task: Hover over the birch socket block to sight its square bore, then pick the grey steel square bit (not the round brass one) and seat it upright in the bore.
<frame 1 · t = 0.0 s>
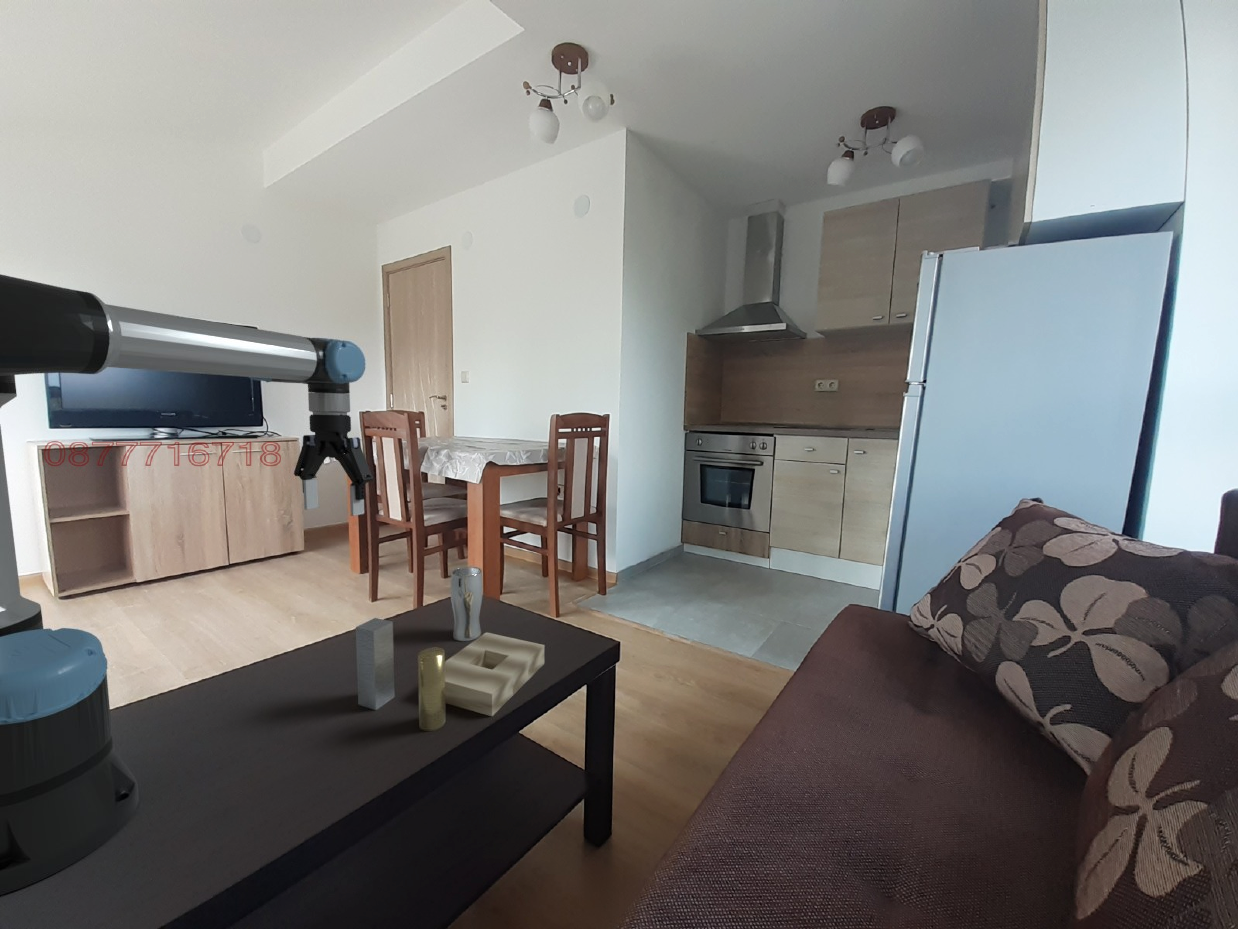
hand: (334, 511, 102), 28 cm above the table, fingers open, 13 cm apart
socket block: (488, 679, 90), on the table
round bit: (432, 722, 77), on the table
square bit: (376, 700, 82), on the table
beer glass: (467, 635, 107), on the table
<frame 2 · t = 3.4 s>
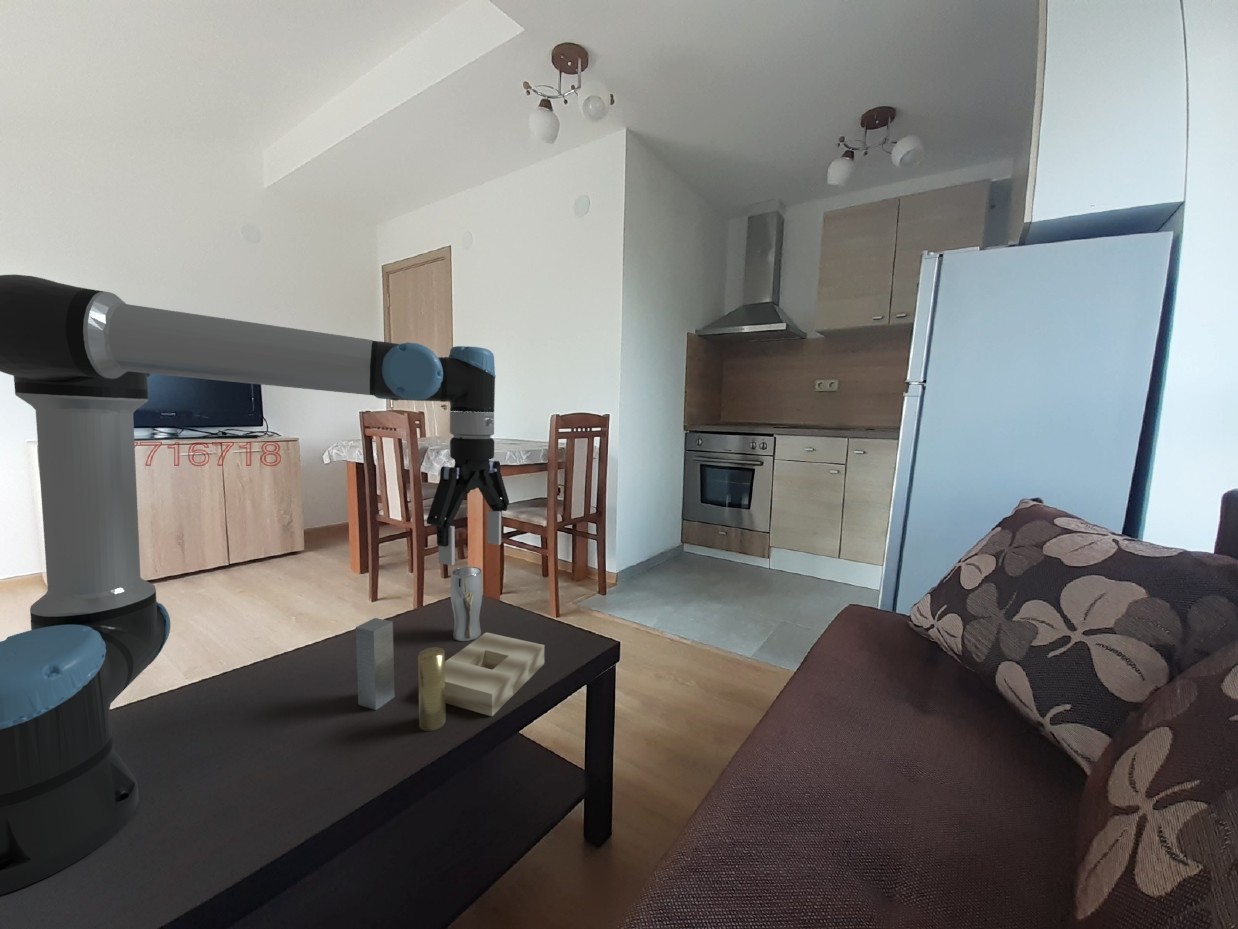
hand: (472, 553, 86), 25 cm above the table, fingers open, 13 cm apart
nothing on the table moved.
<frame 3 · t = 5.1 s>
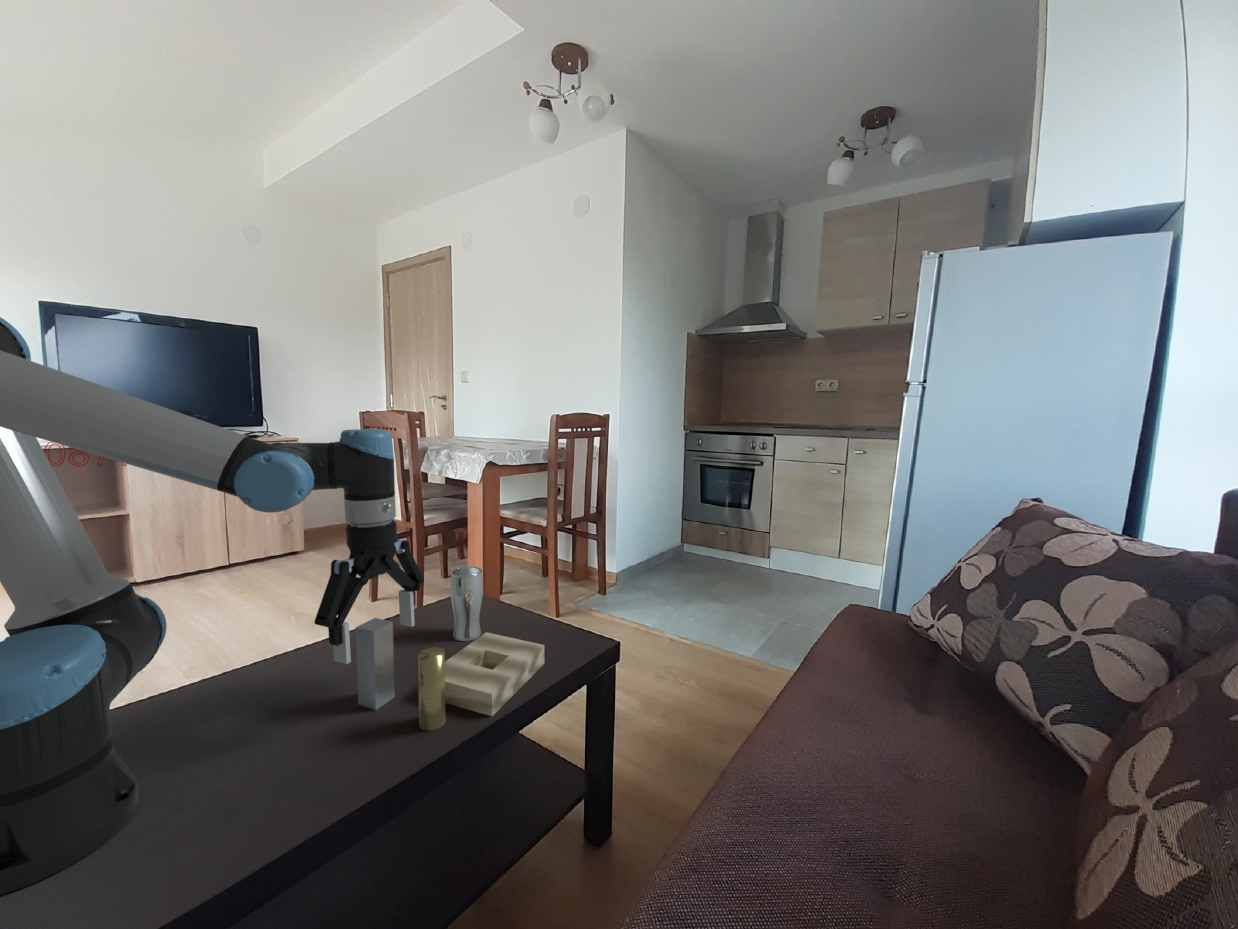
hand: (377, 642, 81), 11 cm above the table, fingers open, 13 cm apart
nothing on the table moved.
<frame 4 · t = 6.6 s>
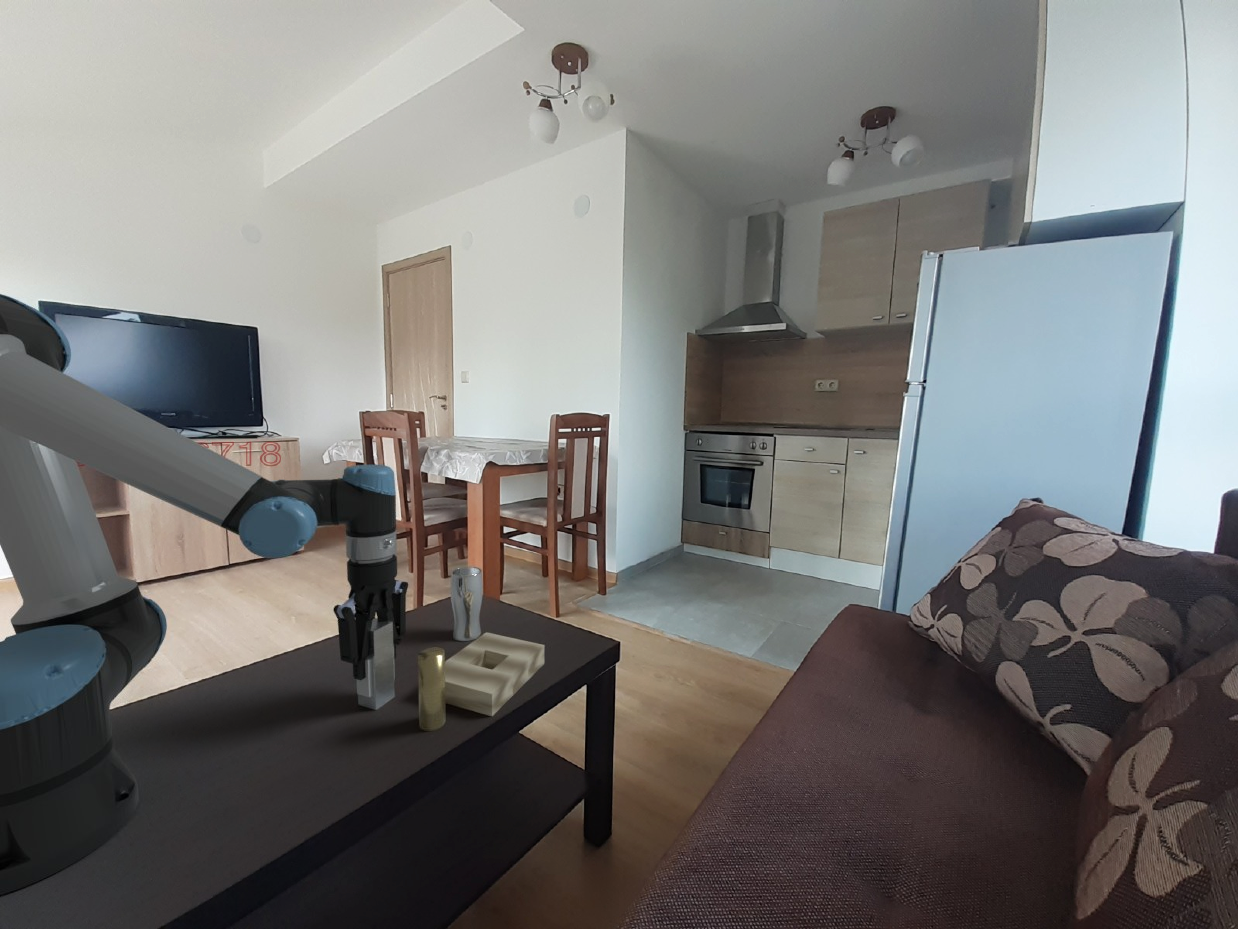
hand: (376, 686, 82), 3 cm above the table, fingers closed on square bit, 4 cm apart
square bit: (376, 700, 82), on the table, touching gripper
everything else where it was.
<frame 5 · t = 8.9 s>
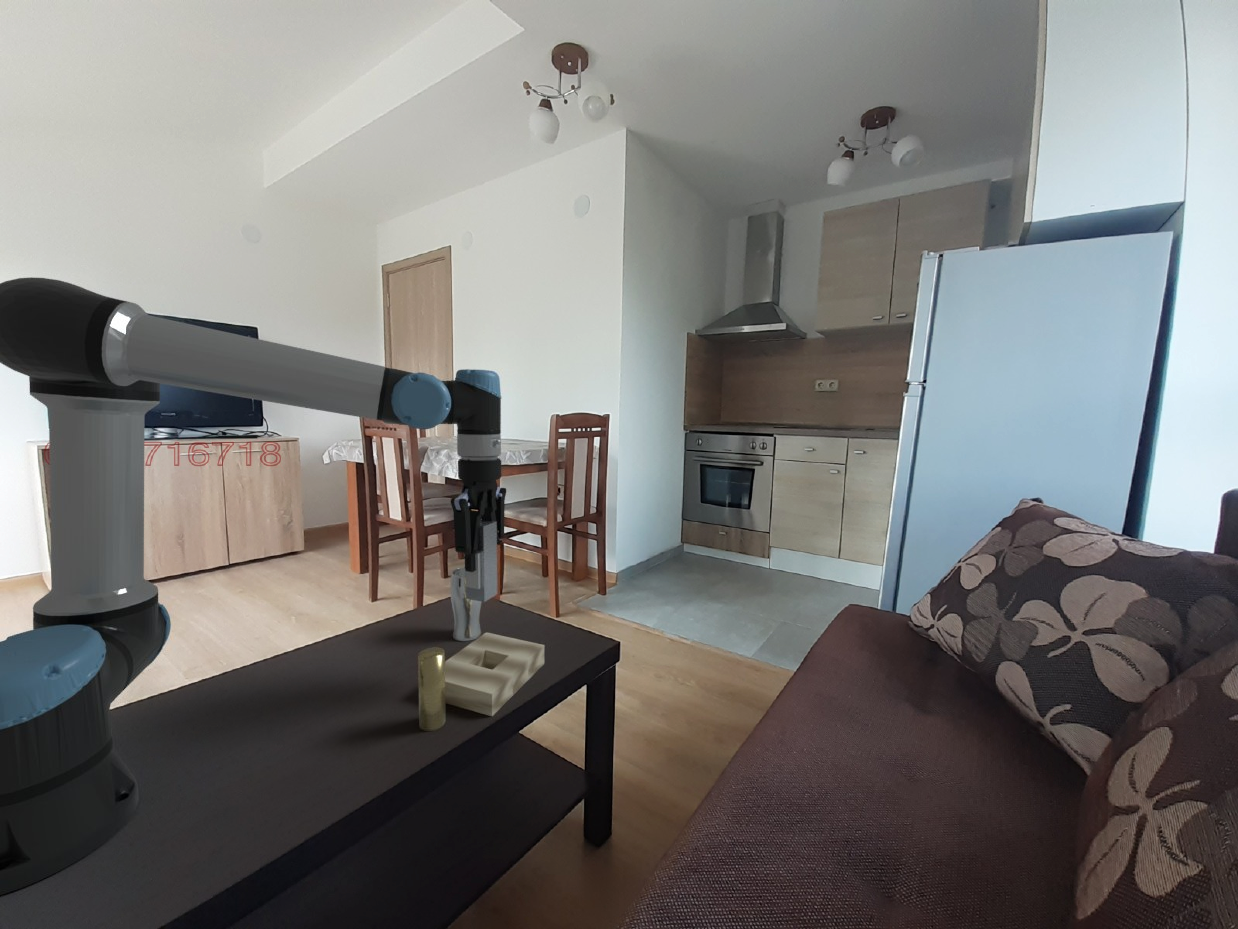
hand: (481, 582, 87), 19 cm above the table, fingers closed on square bit, 4 cm apart
square bit: (482, 596, 87), point 17 cm above the table, touching gripper
everything else where it was.
when the fingers open (5 cm above the table, at t = 11.3 s): square bit drops 3 cm, resting in socket block.
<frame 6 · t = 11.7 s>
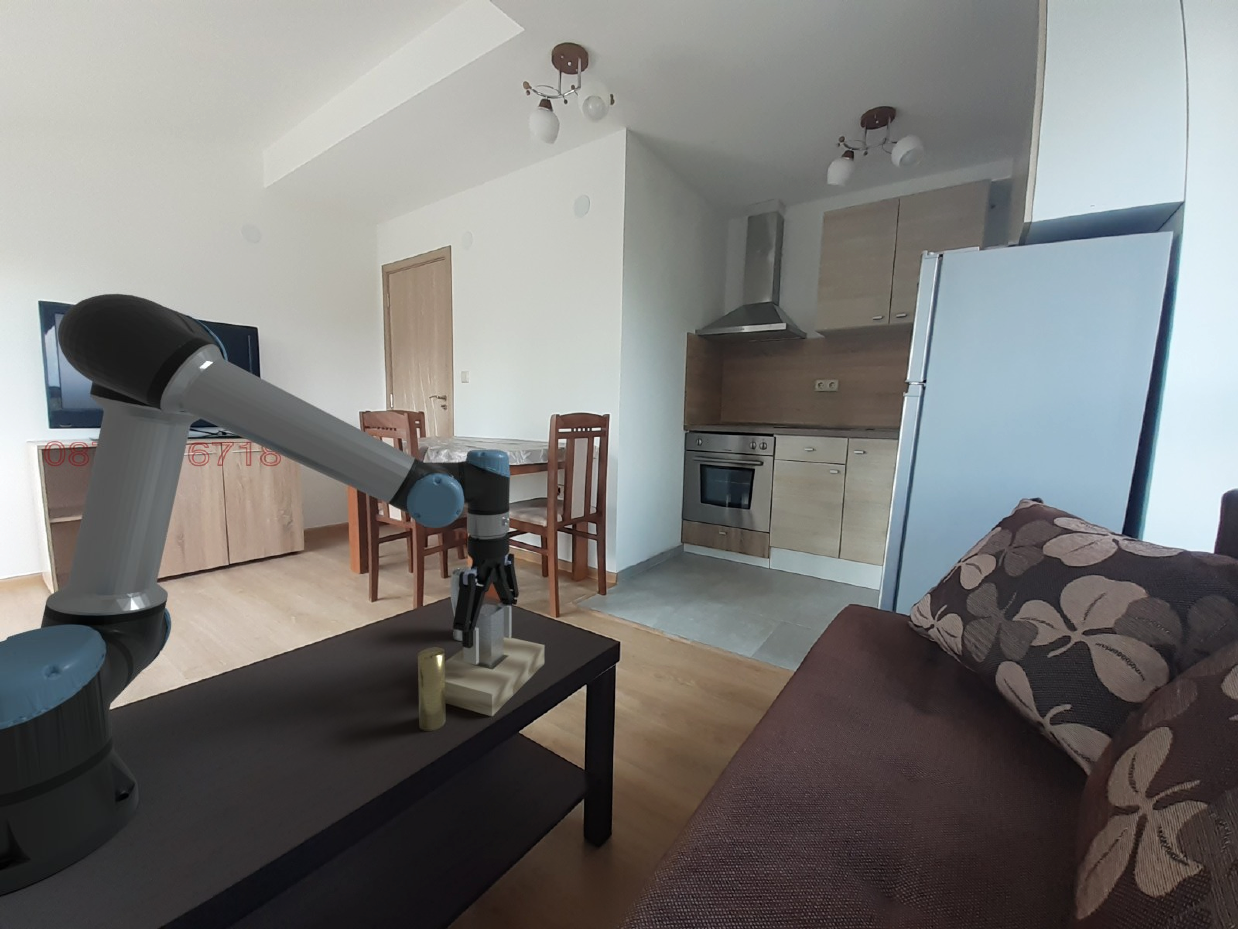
hand: (488, 648, 89), 6 cm above the table, fingers open, 10 cm apart
square bit: (488, 679, 90), resting in socket block
everything else where it was.
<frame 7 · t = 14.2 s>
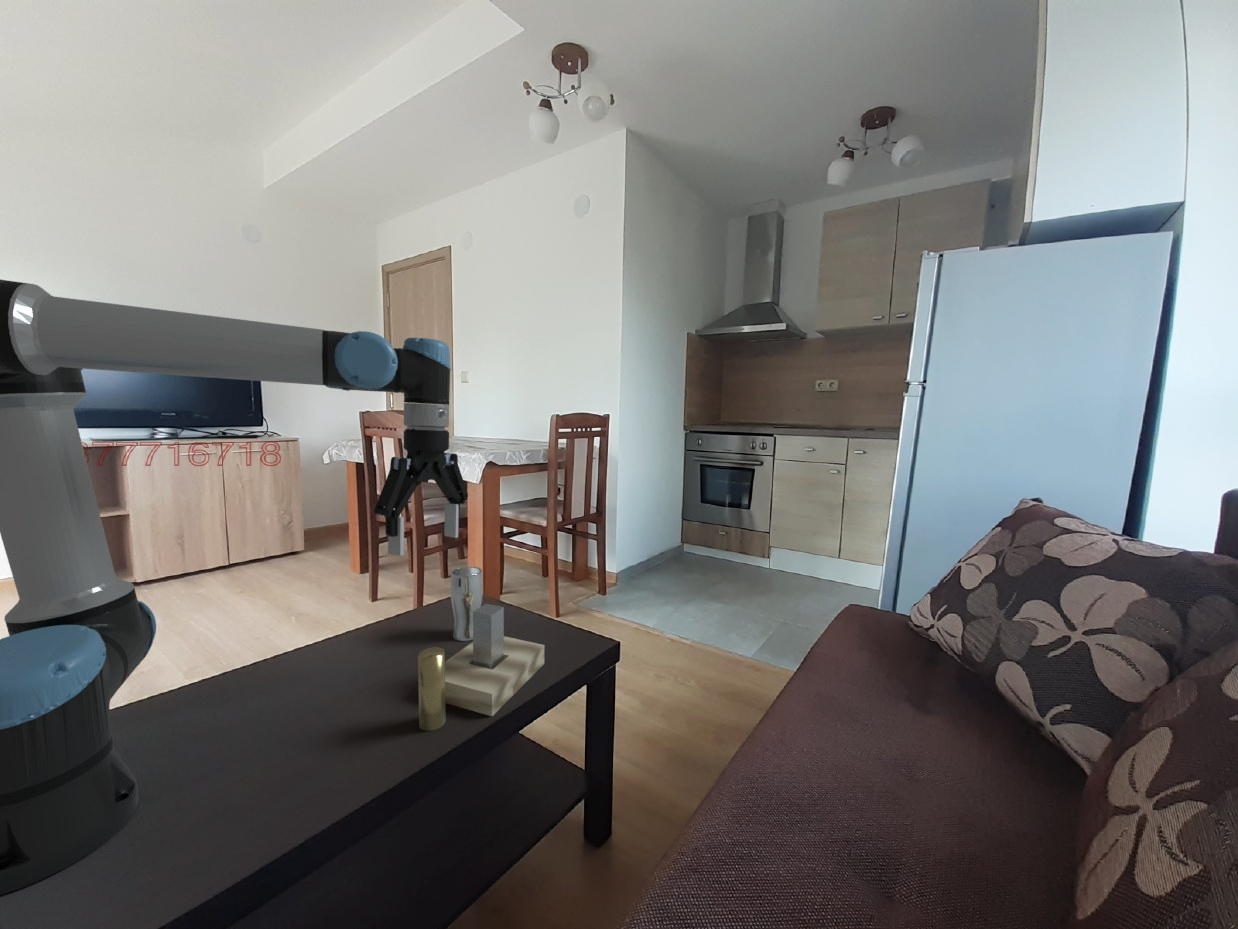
hand: (425, 544, 86), 26 cm above the table, fingers open, 13 cm apart
nothing on the table moved.
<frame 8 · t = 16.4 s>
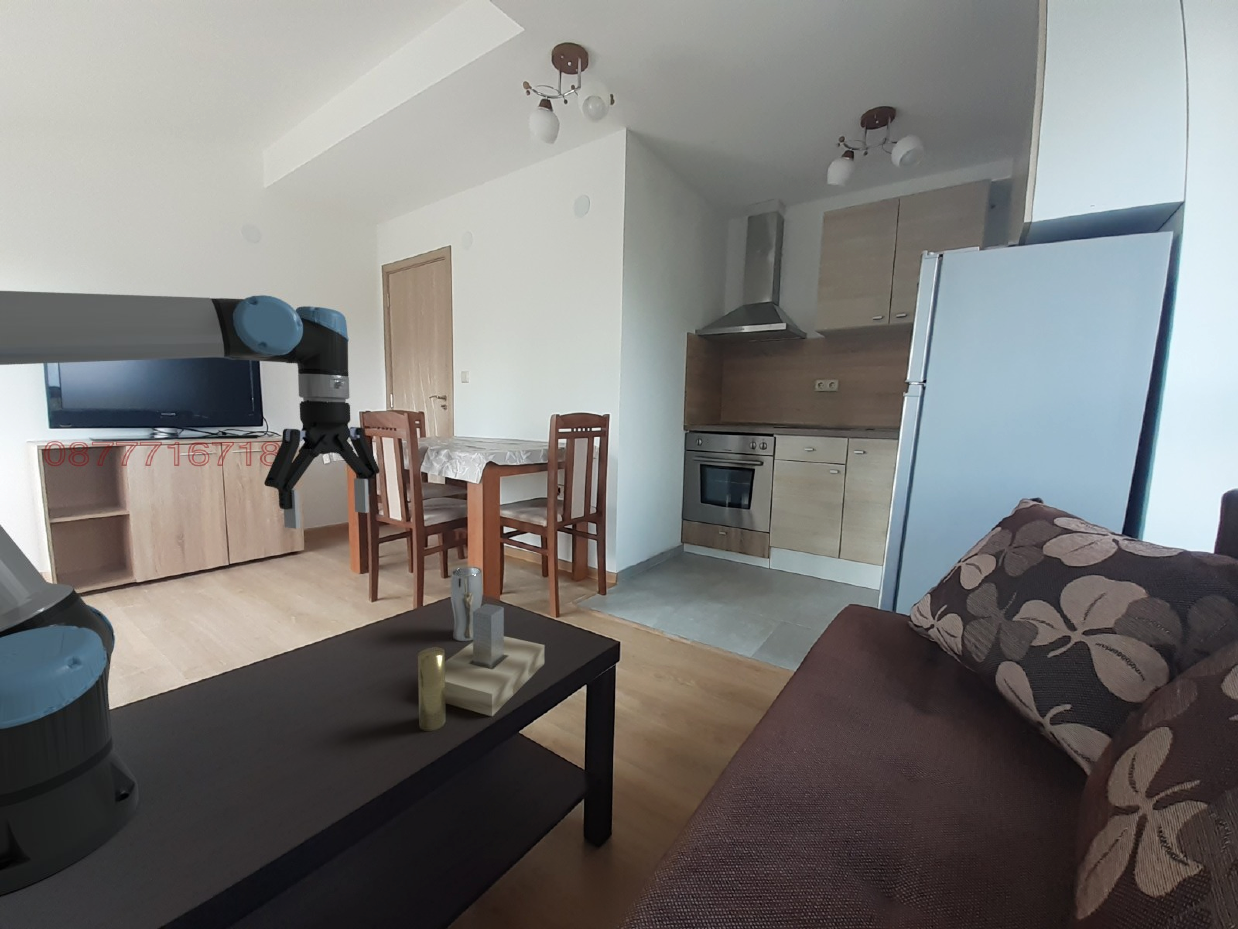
hand: (329, 519, 85), 31 cm above the table, fingers open, 13 cm apart
nothing on the table moved.
at the end: square bit 0.1 cm off-centre on the socket block, point 0.0 cm above the socket block's base; square bit tilted 0°; the gripper is holding nothing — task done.
